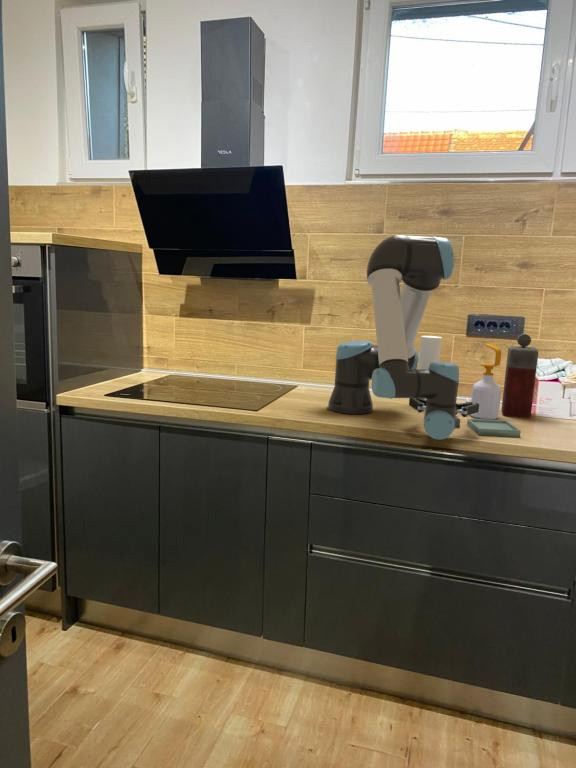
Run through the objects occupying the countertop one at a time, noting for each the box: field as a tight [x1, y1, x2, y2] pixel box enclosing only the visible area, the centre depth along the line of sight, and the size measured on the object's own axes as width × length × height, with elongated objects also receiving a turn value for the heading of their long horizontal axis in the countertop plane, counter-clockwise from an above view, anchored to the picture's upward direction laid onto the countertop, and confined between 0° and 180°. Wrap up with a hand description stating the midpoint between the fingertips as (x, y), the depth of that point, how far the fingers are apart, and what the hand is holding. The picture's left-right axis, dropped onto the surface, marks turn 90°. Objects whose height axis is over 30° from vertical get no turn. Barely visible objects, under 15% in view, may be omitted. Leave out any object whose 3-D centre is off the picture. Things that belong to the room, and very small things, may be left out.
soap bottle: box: [470, 343, 502, 420], centre depth 190 cm, size 9×9×25 cm
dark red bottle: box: [501, 333, 539, 419], centre depth 196 cm, size 9×11×28 cm
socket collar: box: [423, 410, 461, 428], centre depth 180 cm, size 9×9×2 cm
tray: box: [466, 418, 521, 438], centre depth 173 cm, size 12×12×2 cm
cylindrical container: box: [418, 335, 443, 400], centre depth 203 cm, size 7×7×25 cm
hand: (444, 399), depth 178 cm, fingers open, 13 cm apart
